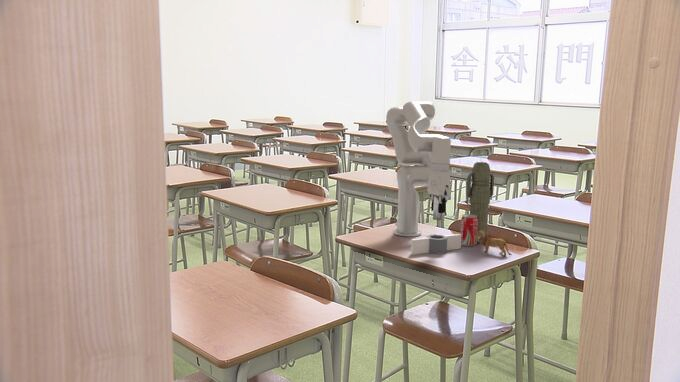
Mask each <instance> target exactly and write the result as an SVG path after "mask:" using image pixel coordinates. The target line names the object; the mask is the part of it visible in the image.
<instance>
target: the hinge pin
mask: <svg viewBox="0 0 680 382" xmlns="http://www.w3.org/2000/svg"><path fill="white" fill-rule="evenodd" d="M442 196H443V195H442ZM443 198H444V197H442V199H443ZM438 203H440V202H439V196H436V195H434V204H433V211H432V220H434V221H443V220H444V213H438Z"/></svg>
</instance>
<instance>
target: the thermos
mask: <svg viewBox="0 0 680 382" xmlns="http://www.w3.org/2000/svg"><path fill="white" fill-rule="evenodd" d="M494 185H495V176H494V174H493V173H491V168H490V163H487V162H486V161H477V162H475V163H473V166H472V170H471V172H470V173H469V174H468V175H467V180H466V197H467V198H469V199H468V202H469V214H473V215H476V216H477V219H478V229H477V232H478V231H484V232H486V233H487V234H489V225H488V222H489V208H490V207H489V205H490V203H491V198H492V197H493V196H494V191H495V190H494ZM476 245H481V243H480V242H479V241H478V240H477V244H476Z"/></svg>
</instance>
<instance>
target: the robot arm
mask: <svg viewBox="0 0 680 382" xmlns="http://www.w3.org/2000/svg"><path fill="white" fill-rule="evenodd" d="M435 115H436V108H435V106H434V104H433V103H432V102H431V101H425V100H424V101H423V100H422V101H420V100H419V101H418V100H417V101H415V100H414V101H413V100H411V101H408V102H406V103H404V104H403V106H395V107H394V106H393V107H391V108H390V109H388V110H387V113H386V119H385V120H386V126H387V129H388V131H389V134H390V136H391V138H392V141H393V142H392V143H393V148H394V153H395V156H396V161H397V163H398V164H399V165H401V167H399V168H398V169H397V172H396V181H397V189H398V190H397V191H398V192H397V193H398V198H397V200H398V202H397V222H395V224H394V225H395V226H396V229H394V230H393V233H394V234H395V235H396V236H399V237H411V238H413V237H419V236H421V235H422V231H421V230H420V229H419V214H420V213H419V210H420V195H419V192H418V191H417V190H416V188H417V187H426V188H427V189H426V191H427V193H428V194H429V197H430V201H431V209H430V211H431V212H433V204H434V195H436V196H439V202H440V203H438V213H443V214H445V213H446V207H447V206H446V204H447V202H448V200H450V199H451V173H450V167H451V166H450V165H451V147H452V146H451V145H452V144H451V143H452V139H451V138H450V137H449V136H444V135H442V134H423V133H425V132H427V131H428V130H429V128H430V126H431V121H432V120H433V119H434V118H435ZM403 126H409V128H408V130H407V129H406V128H405V127H403ZM442 195H443V196H442ZM442 197H444V198H443V199H442Z"/></svg>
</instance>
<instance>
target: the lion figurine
mask: <svg viewBox="0 0 680 382" xmlns="http://www.w3.org/2000/svg"><path fill="white" fill-rule="evenodd" d="M476 238H477V240H478V241H479V242H480V243H481V244H480V245H482V246H484V251H483V254H487V253H489V249H490V247H491V248H497V247H498V248H499V250H500V251H499V252H498V254H499V255H502V257H505V258H506V257H507V255H508V256H509V255H510V256H512V255H513V254H512V253H510V251H509V249H508V245H507V242H506V241H505V240H504V239H503V238H494V237H493V236H492V235H491V234H489V233H488V234H487V233H486V232H484V231H478V232H477V236H476Z"/></svg>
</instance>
